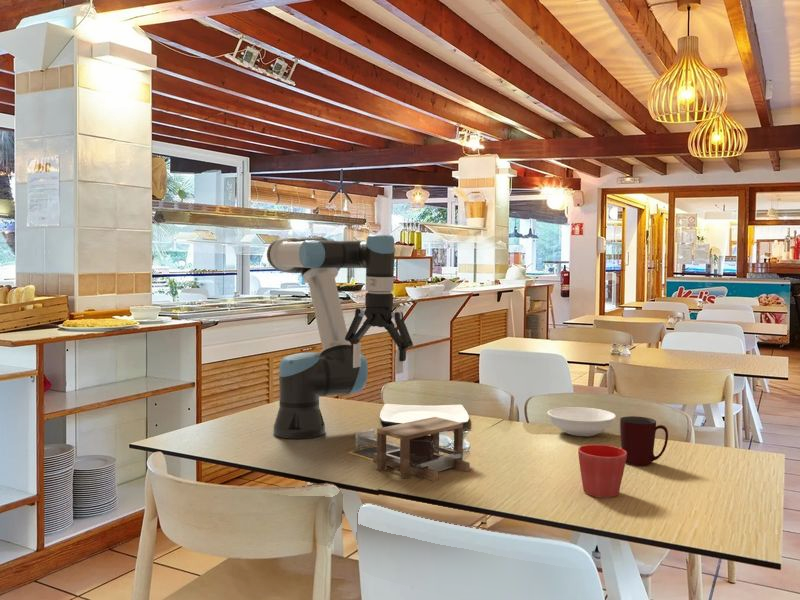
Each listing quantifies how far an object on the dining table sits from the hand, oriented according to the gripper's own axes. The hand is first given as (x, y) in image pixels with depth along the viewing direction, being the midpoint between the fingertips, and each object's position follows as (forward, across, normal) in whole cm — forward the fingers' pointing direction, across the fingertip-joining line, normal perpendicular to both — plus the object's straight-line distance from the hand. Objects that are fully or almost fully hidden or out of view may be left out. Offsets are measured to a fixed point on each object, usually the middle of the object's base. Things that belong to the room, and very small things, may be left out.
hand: (377, 370), depth 206 cm
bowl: (+21, +44, +45) cm, 66 cm away
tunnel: (+21, +19, -9) cm, 30 cm away
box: (+21, +19, -9) cm, 30 cm away
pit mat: (+21, +3, -4) cm, 22 cm away
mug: (+20, +66, +24) cm, 73 cm away
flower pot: (+20, +64, -6) cm, 67 cm away
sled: (+21, +12, -7) cm, 25 cm away
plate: (+23, -6, +38) cm, 45 cm away
